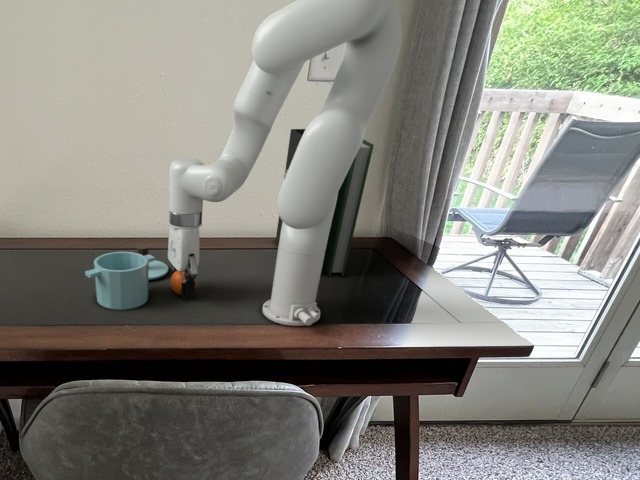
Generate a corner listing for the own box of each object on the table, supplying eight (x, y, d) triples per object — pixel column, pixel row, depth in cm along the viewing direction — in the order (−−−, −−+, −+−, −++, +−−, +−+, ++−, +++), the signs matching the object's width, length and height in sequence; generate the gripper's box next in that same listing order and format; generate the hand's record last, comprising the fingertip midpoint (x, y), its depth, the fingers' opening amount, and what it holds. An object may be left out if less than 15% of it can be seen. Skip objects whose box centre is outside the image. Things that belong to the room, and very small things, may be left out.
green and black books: (346, 276, 125) (377, 144, 107) (289, 275, 126) (310, 145, 108) (321, 241, 148) (343, 128, 130) (273, 241, 149) (288, 129, 131)
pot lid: (178, 274, 128) (179, 248, 124) (136, 286, 121) (135, 260, 118) (149, 259, 137) (149, 235, 133) (109, 270, 131) (107, 245, 127)
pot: (167, 297, 116) (167, 260, 111) (103, 317, 107) (101, 278, 102) (138, 280, 125) (137, 245, 120) (77, 298, 116) (74, 261, 111)
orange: (199, 297, 116) (201, 268, 112) (174, 301, 114) (175, 271, 110) (190, 287, 121) (192, 259, 117) (166, 290, 119) (167, 262, 115)
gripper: (158, 209, 114) (158, 279, 123) (181, 231, 100) (179, 308, 109) (188, 206, 115) (186, 275, 125) (215, 228, 101) (210, 303, 111)
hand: (183, 290), depth 117 cm, fingers closed on orange, 6 cm apart
